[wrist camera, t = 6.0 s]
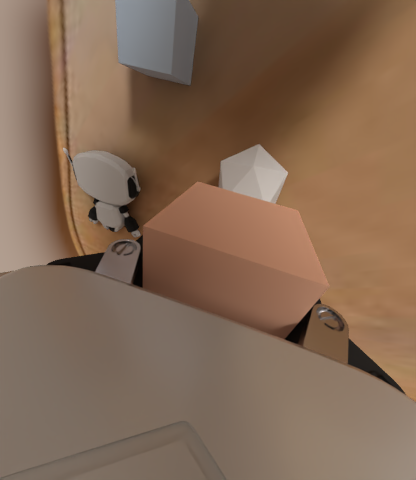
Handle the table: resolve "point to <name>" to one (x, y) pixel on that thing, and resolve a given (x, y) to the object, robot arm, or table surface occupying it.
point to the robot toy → (107, 188)
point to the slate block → (157, 37)
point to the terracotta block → (233, 258)
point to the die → (253, 174)
